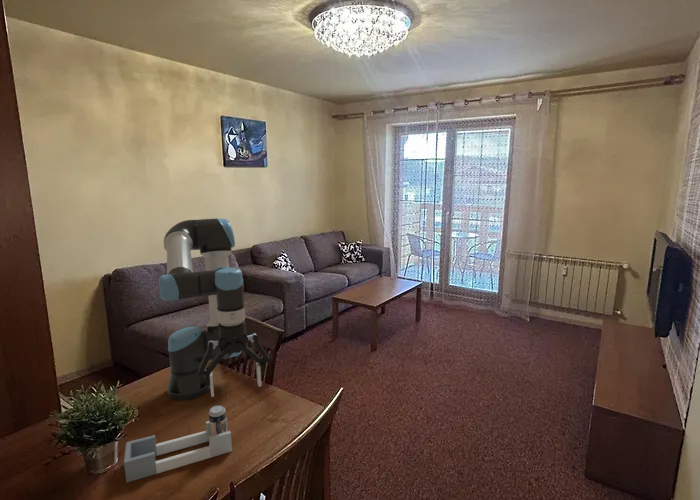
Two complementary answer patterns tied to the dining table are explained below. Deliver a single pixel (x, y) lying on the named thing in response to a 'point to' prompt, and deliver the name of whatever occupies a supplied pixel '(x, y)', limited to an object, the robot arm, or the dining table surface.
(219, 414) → the beer can
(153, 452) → the end-cap channel
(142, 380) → the dining table surface
